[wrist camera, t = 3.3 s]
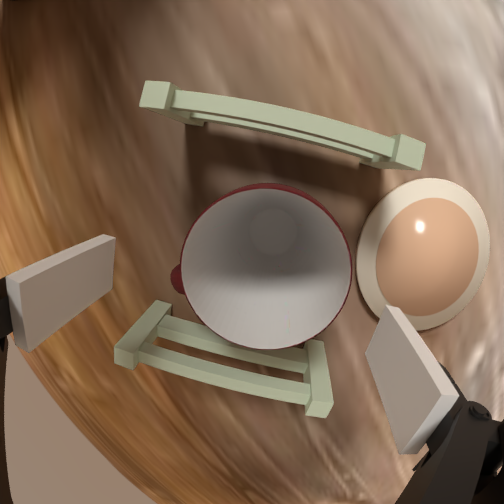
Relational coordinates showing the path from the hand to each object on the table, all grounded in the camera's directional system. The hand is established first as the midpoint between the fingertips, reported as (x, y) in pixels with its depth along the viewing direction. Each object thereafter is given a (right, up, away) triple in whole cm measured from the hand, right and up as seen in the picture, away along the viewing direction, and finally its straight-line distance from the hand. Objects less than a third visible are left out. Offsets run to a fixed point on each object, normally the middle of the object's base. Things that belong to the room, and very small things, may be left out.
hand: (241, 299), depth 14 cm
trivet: (+15, +2, +9) cm, 18 cm away
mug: (+1, +3, +10) cm, 11 cm away
